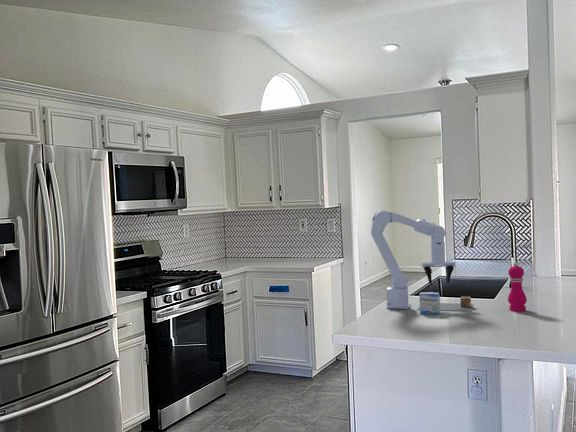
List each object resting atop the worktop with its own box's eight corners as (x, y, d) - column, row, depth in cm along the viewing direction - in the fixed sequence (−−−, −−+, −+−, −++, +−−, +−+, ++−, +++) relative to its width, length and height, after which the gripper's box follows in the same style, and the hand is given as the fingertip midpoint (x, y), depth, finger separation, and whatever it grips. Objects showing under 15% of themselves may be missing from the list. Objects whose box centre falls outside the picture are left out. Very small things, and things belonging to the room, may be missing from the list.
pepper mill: (527, 309, 221) (525, 261, 221) (527, 312, 214) (525, 263, 214) (508, 308, 224) (506, 261, 224) (507, 311, 218) (505, 263, 217)
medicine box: (419, 314, 221) (418, 293, 221) (421, 312, 225) (420, 291, 225) (439, 315, 218) (438, 294, 218) (440, 312, 222) (439, 292, 222)
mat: (417, 310, 229) (417, 309, 229) (421, 303, 243) (421, 302, 243) (471, 311, 221) (471, 310, 221) (472, 304, 235) (472, 303, 235)
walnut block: (460, 307, 228) (460, 298, 228) (461, 305, 232) (460, 296, 232) (470, 307, 227) (470, 298, 227) (470, 305, 231) (470, 296, 231)
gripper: (423, 254, 231) (424, 285, 231) (457, 252, 230) (458, 283, 231) (420, 252, 238) (421, 282, 238) (452, 251, 237) (453, 281, 238)
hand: (439, 283), depth 235 cm, fingers open, 7 cm apart
